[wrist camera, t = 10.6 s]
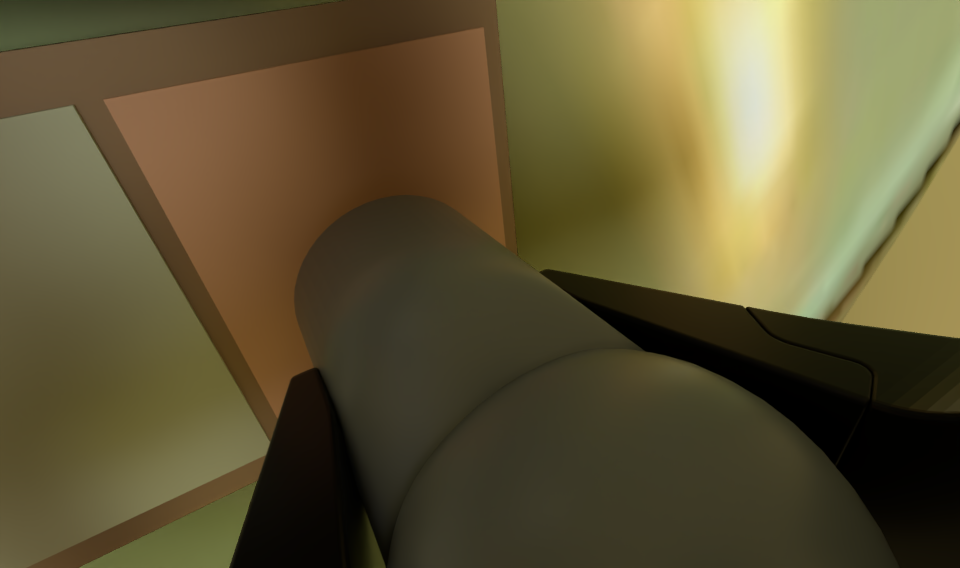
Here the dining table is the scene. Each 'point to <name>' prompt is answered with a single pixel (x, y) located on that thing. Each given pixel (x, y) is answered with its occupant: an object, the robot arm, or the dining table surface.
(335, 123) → the game board
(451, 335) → the pawn
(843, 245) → the dining table surface
